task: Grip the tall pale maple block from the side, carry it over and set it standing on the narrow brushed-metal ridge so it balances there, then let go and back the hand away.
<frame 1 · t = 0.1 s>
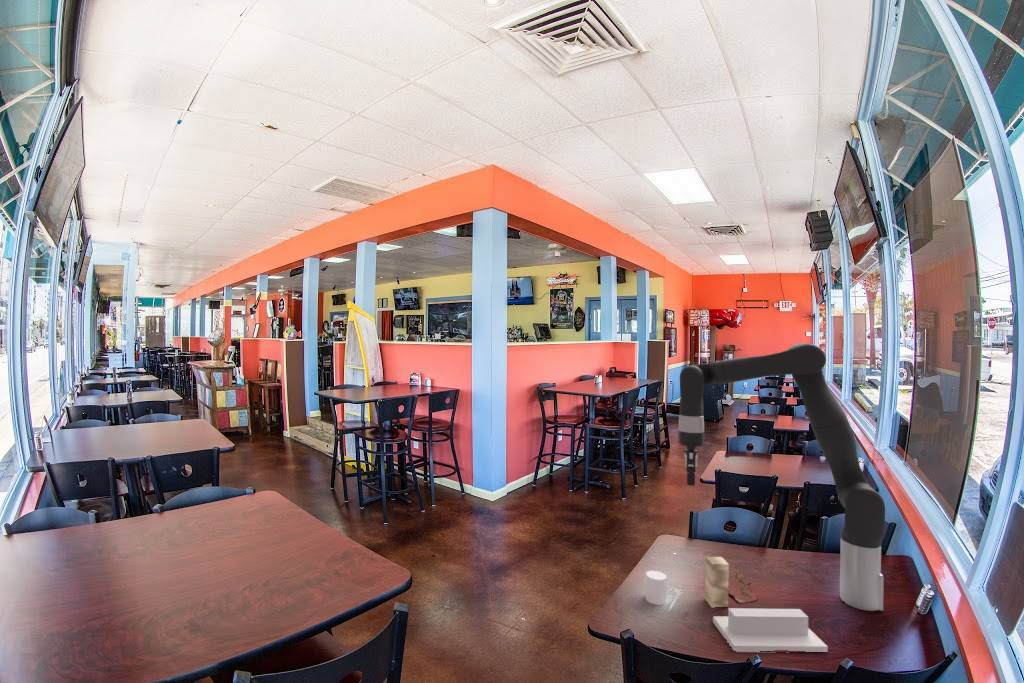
hand: (690, 481, 151), 29 cm above the table, tool pointing down, fingers open, 8 cm apart
maple block: (716, 603, 135), on the table
wooden fragment: (731, 583, 147), on the table
ridge stand: (767, 636, 120), on the table
white cylinder: (655, 600, 136), on the table
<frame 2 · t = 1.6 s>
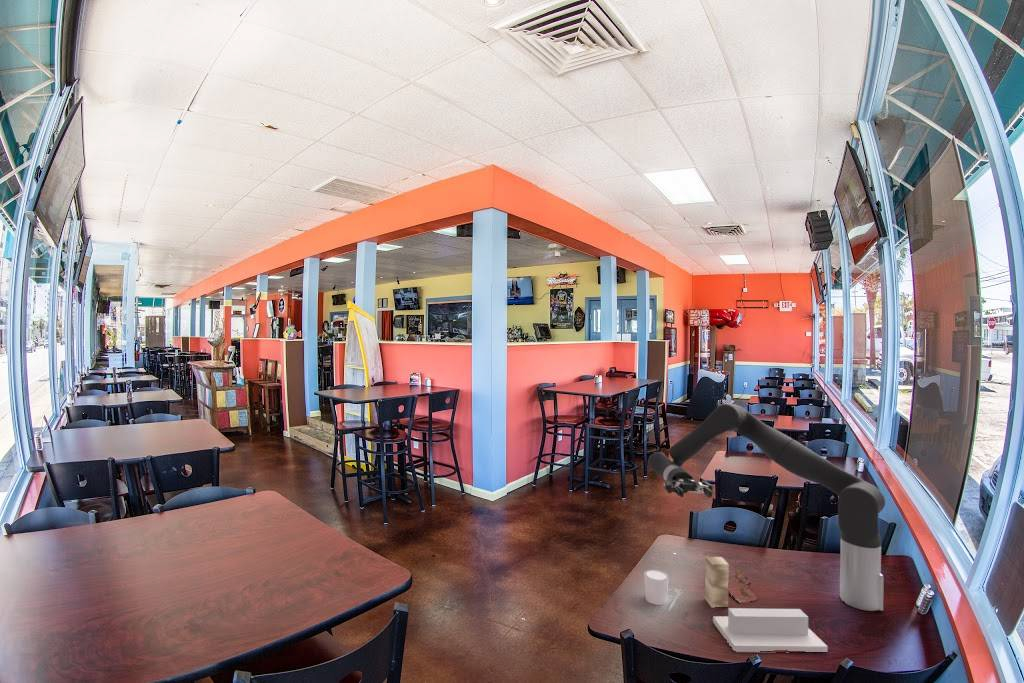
hand: (696, 494, 148), 26 cm above the table, tool horizontal, fingers open, 8 cm apart
nothing on the table moved.
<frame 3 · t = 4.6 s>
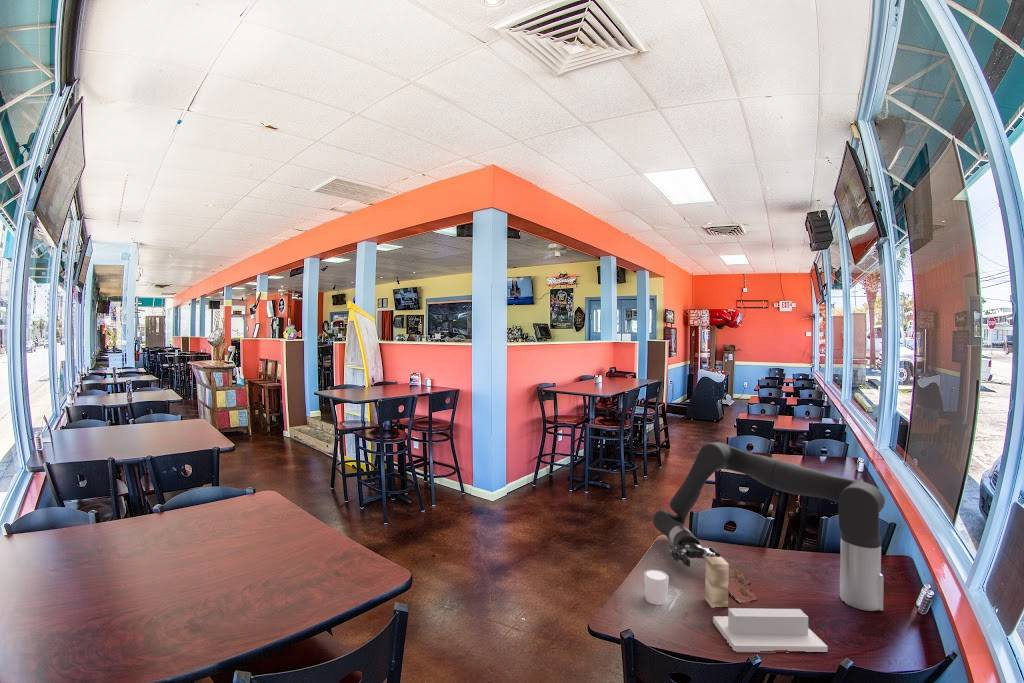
hand: (703, 563, 144), 7 cm above the table, tool horizontal, fingers open, 8 cm apart
nothing on the table moved.
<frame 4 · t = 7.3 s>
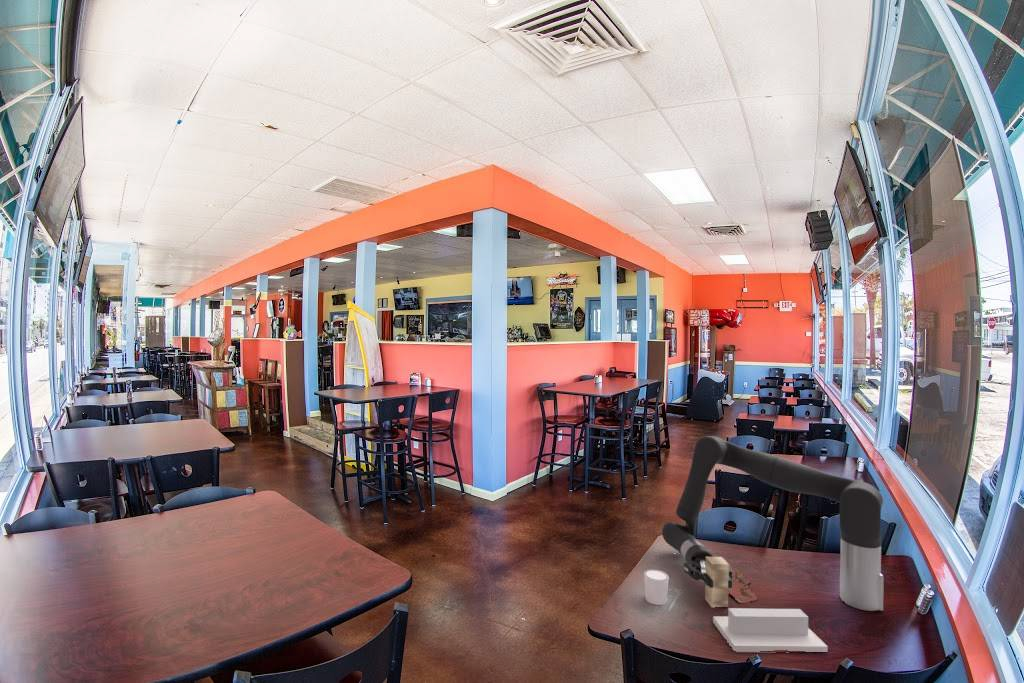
hand: (721, 584, 132), 7 cm above the table, tool horizontal, fingers closed on maple block, 4 cm apart
maple block: (716, 603, 135), on the table, touching gripper
everything else where it was.
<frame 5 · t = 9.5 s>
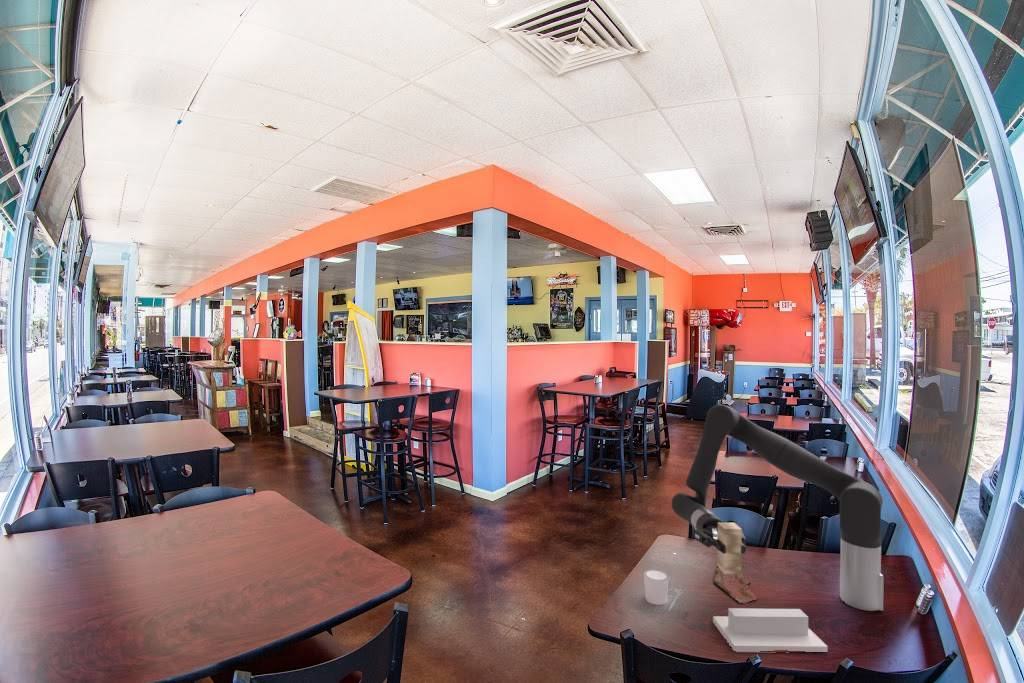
hand: (733, 549, 128), 18 cm above the table, tool horizontal, fingers closed on maple block, 4 cm apart
maple block: (728, 569, 131), point 11 cm above the table, touching gripper
everything else where it was.
when the fingers open (14 cm above the table, at t = 11.8 s): maple block stays where it is, resting on ridge stand.
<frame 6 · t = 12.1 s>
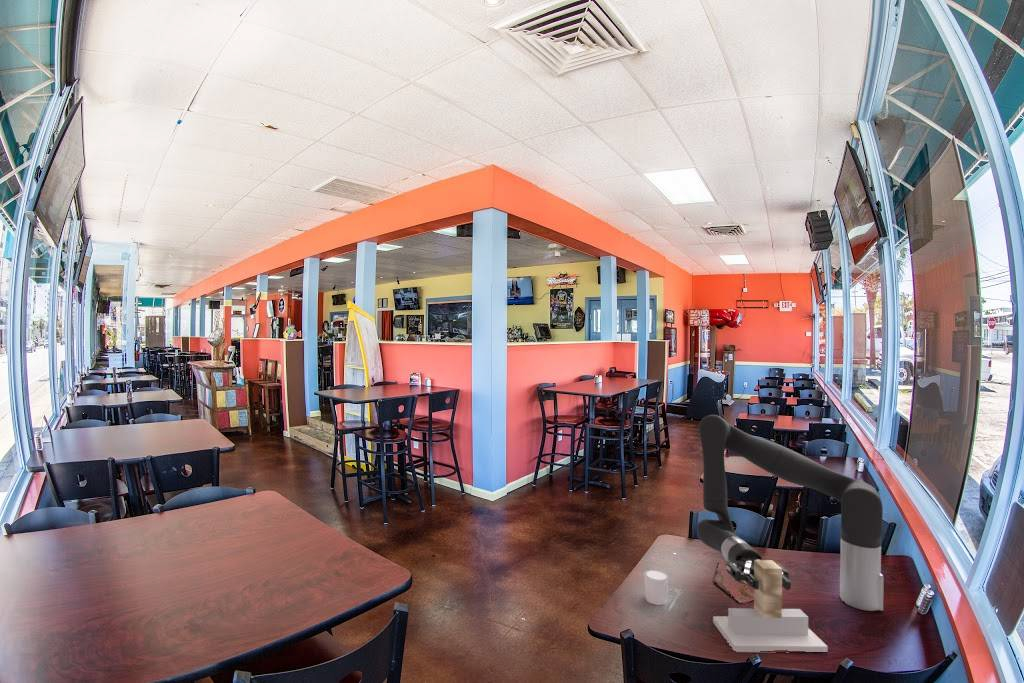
hand: (773, 586, 118), 14 cm above the table, tool horizontal, fingers open, 7 cm apart
maple block: (767, 612, 120), point 6 cm above the table, touching ridge stand
everything else where it was.
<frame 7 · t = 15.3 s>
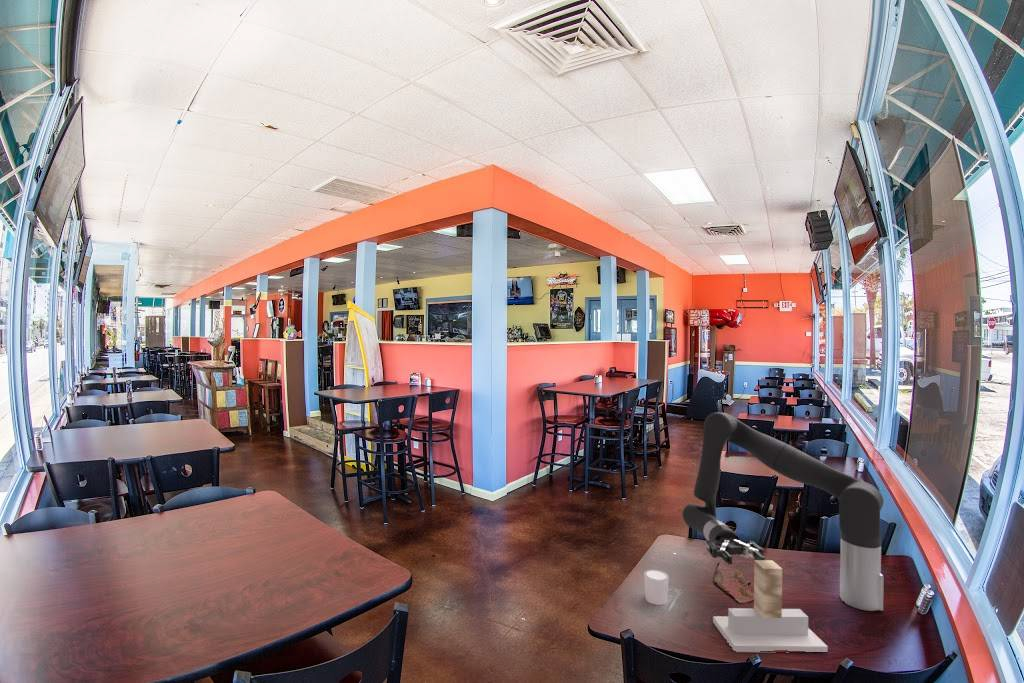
hand: (746, 561, 131), 14 cm above the table, tool horizontal, fingers open, 8 cm apart
nothing on the table moved.
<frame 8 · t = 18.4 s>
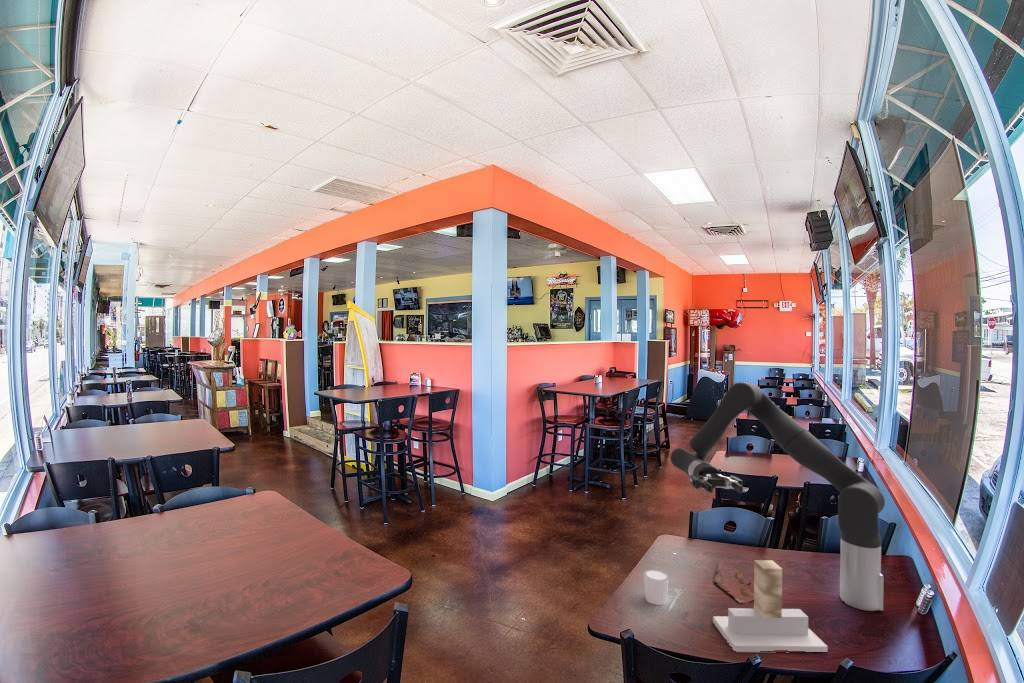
hand: (726, 489, 140), 30 cm above the table, tool horizontal, fingers open, 8 cm apart
nothing on the table moved.
at the end: maple block point 6.0 cm above the table; maple block tilted 0°; maple block 0.1 cm from the ridge stand (horizontally) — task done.
